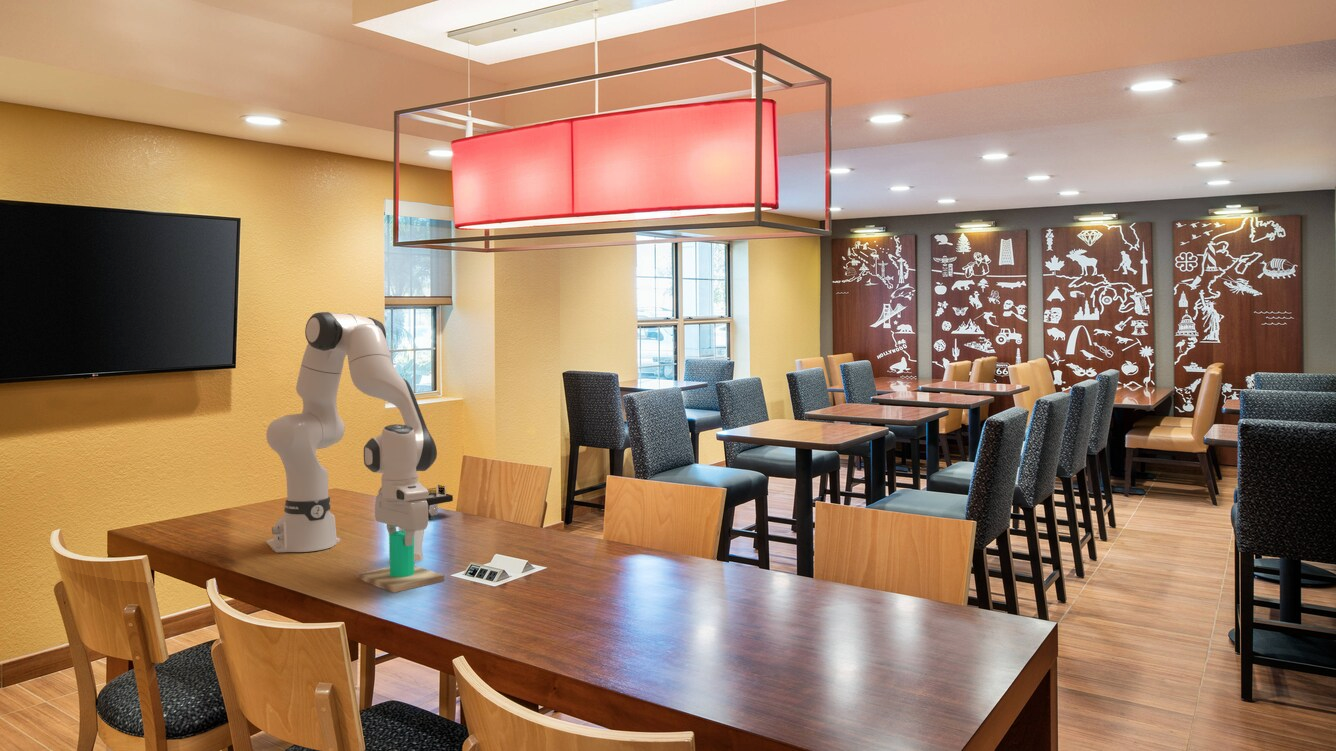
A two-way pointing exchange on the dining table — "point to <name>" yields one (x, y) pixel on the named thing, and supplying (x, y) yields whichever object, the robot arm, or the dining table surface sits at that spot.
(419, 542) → the beer glass
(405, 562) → the candle
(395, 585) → the birch board
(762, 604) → the dining table surface
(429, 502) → the black-topped pedestal
